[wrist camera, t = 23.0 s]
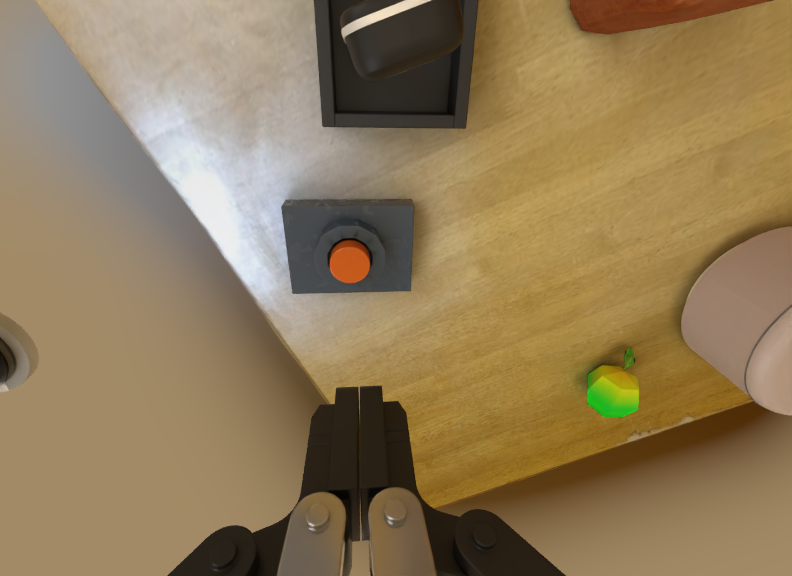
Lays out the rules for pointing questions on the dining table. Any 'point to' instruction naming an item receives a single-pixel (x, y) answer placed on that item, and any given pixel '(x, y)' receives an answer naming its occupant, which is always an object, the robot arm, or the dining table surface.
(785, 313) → the container
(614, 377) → the apple
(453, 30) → the battery charger
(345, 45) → the dock
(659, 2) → the bread
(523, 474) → the dining table surface
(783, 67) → the dining table surface
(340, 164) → the dining table surface
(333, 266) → the power button
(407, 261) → the switch box
